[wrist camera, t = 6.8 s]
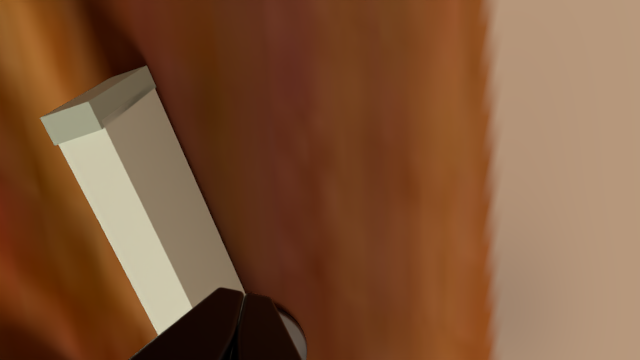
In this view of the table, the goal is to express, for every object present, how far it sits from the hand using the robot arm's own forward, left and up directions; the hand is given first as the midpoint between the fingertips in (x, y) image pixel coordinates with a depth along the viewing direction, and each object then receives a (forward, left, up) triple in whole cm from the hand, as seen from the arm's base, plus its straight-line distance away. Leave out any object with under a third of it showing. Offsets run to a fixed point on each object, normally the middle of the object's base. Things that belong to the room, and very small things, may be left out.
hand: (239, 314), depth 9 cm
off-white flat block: (-3, +4, -12) cm, 13 cm away
